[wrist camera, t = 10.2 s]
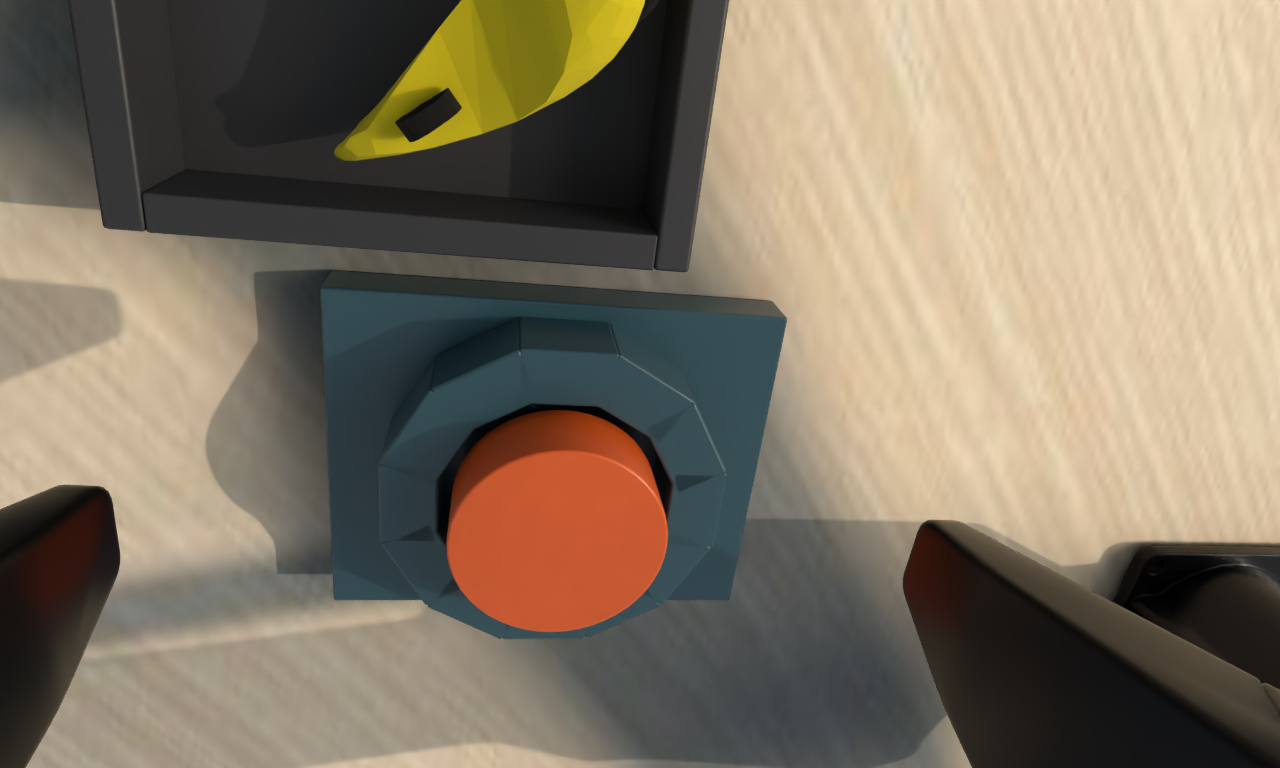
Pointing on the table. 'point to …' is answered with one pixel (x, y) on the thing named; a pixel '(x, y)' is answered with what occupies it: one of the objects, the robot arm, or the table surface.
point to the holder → (394, 185)
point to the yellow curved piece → (493, 70)
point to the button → (555, 522)
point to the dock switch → (526, 383)
